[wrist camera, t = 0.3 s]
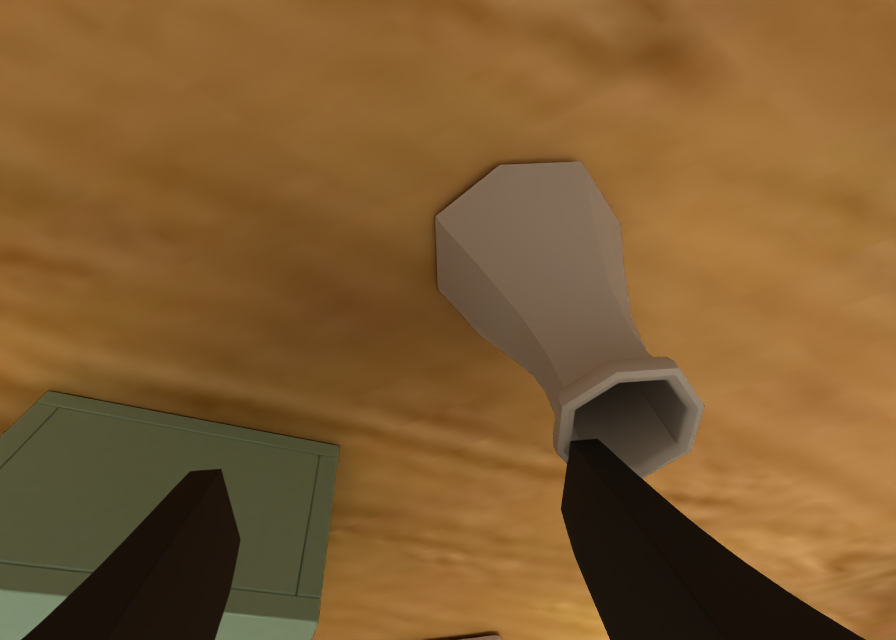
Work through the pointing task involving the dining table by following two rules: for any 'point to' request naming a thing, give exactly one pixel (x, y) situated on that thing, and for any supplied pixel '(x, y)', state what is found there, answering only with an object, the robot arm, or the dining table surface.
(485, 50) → the dining table surface
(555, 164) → the flask
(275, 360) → the dining table surface
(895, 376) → the dining table surface
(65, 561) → the green drawer cabinet
